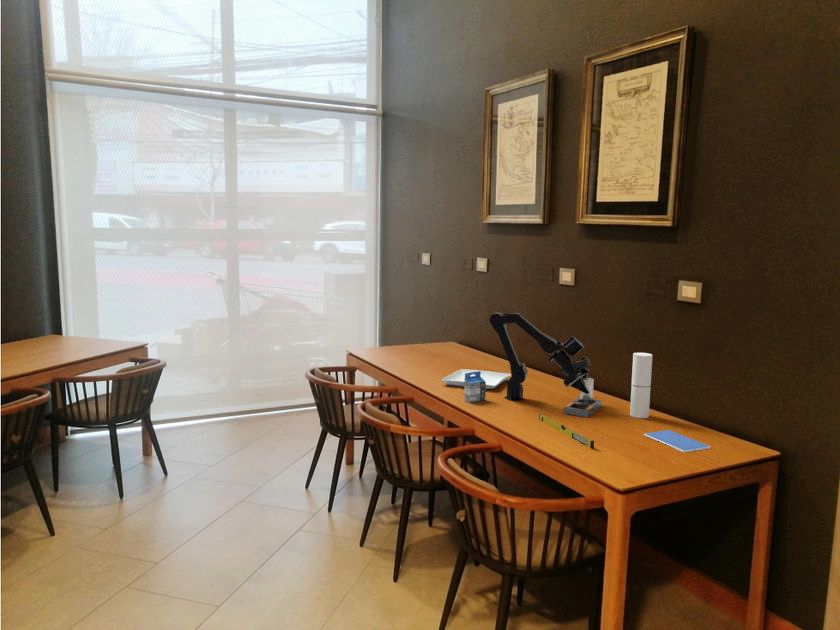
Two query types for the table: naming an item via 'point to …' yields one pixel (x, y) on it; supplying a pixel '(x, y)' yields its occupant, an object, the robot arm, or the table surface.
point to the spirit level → (567, 431)
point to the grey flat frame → (581, 408)
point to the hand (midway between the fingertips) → (590, 392)
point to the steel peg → (589, 385)
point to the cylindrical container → (641, 385)
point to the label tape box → (474, 387)
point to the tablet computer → (677, 441)
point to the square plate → (459, 376)
